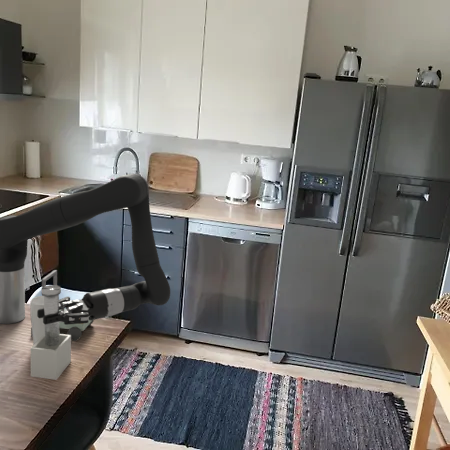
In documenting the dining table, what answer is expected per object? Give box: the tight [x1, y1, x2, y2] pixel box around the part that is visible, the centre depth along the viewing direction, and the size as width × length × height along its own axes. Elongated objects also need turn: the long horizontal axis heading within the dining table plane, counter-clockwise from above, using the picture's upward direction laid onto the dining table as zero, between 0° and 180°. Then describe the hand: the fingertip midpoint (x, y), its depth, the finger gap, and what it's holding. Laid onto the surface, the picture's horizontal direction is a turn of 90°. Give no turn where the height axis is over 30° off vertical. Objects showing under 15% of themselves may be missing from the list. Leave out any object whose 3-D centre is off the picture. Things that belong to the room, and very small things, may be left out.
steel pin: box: [41, 284, 62, 346], centre depth 119 cm, size 5×5×15 cm
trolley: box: [41, 269, 95, 342], centre depth 142 cm, size 13×11×18 cm
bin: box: [30, 333, 72, 380], centre depth 122 cm, size 7×9×8 cm
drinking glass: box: [29, 295, 45, 346], centre depth 131 cm, size 7×7×15 cm
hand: (40, 317), depth 118 cm, fingers closed on steel pin, 3 cm apart
